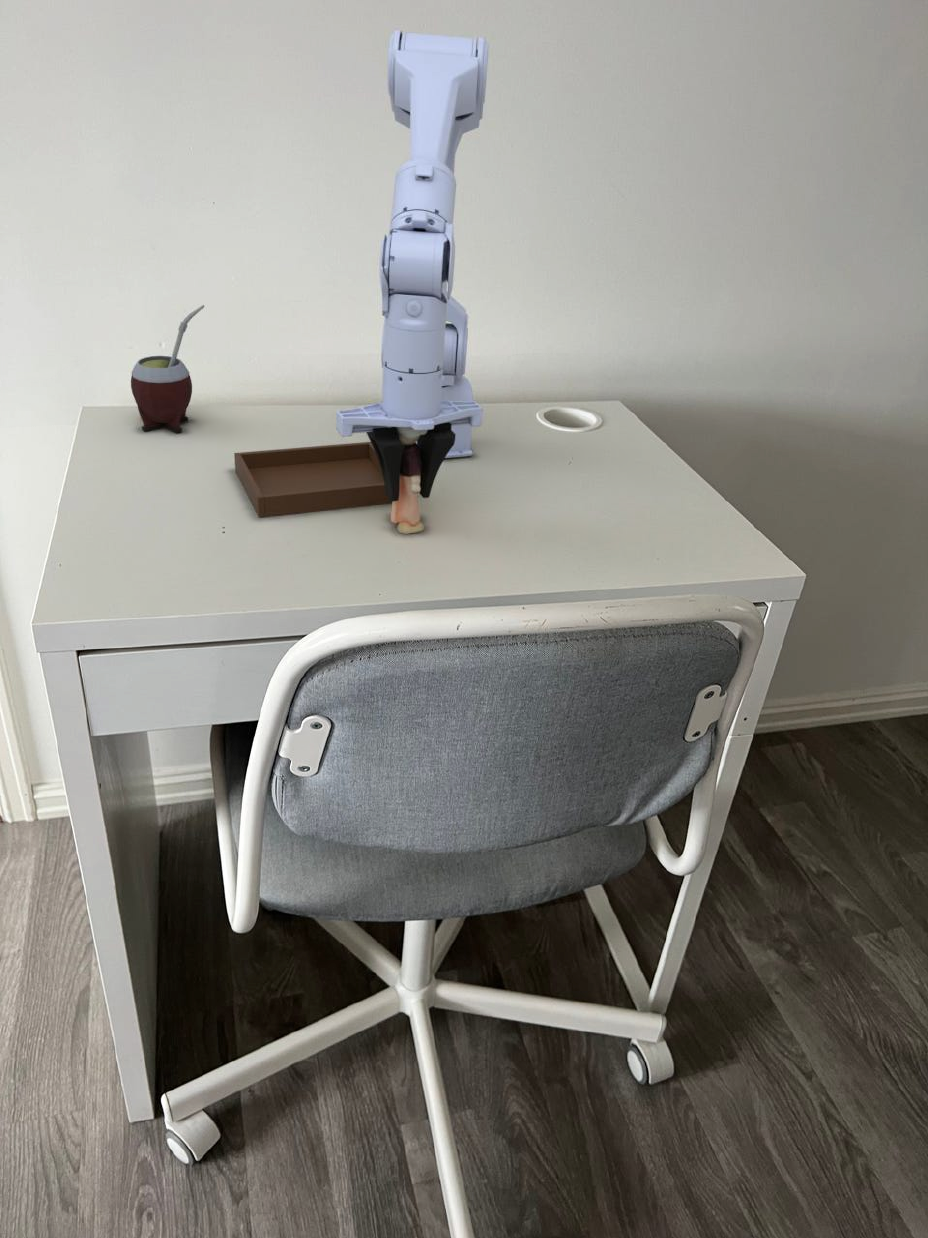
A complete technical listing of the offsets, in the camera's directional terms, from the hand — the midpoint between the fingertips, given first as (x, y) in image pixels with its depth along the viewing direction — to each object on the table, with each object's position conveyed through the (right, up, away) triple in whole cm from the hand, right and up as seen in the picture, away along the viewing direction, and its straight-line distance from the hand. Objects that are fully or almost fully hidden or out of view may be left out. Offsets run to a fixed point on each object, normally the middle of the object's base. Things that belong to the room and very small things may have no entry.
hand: (407, 495), depth 99 cm
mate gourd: (-31, +11, +21) cm, 39 cm away
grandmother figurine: (0, -3, +2) cm, 4 cm away
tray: (-10, +2, +9) cm, 14 cm away
